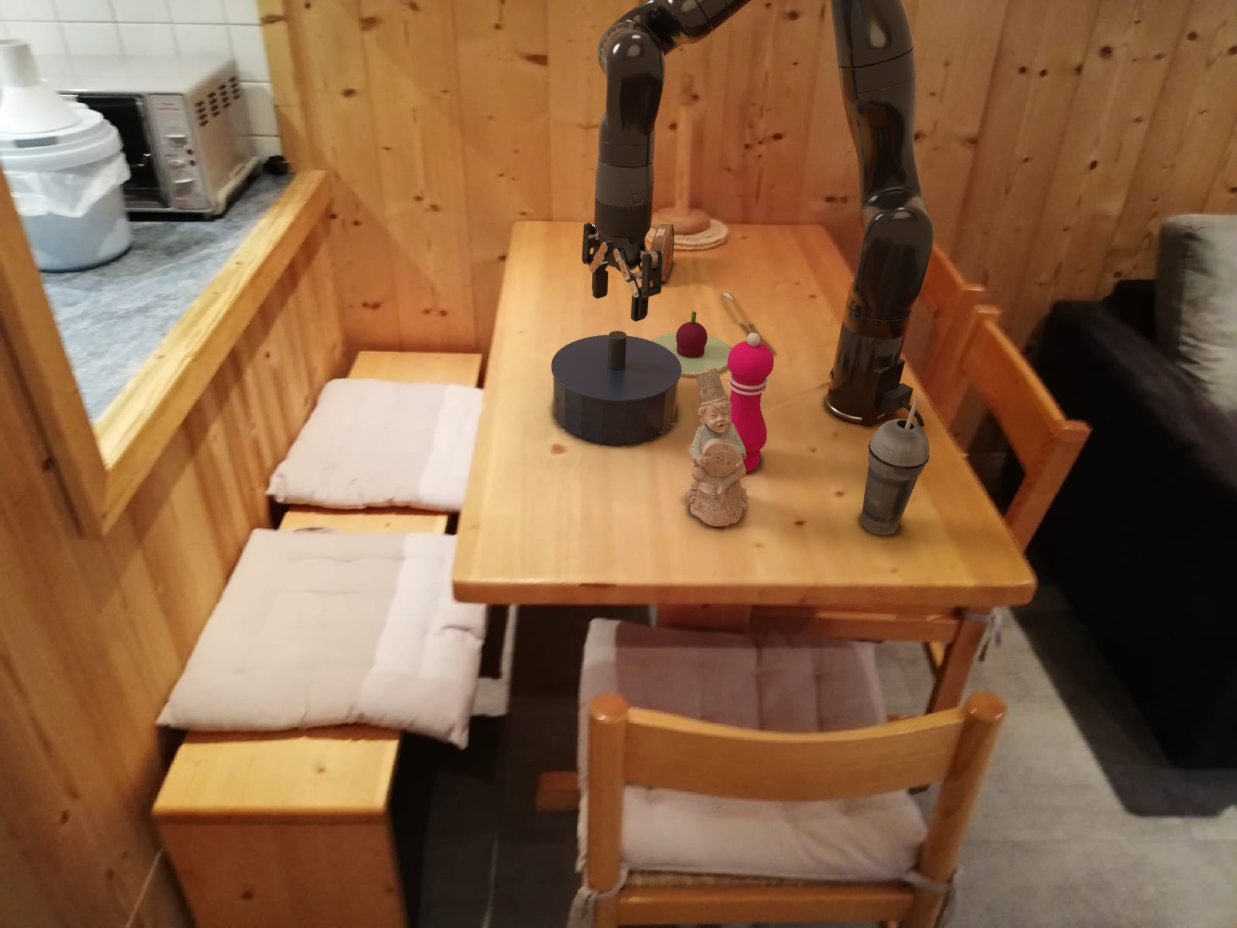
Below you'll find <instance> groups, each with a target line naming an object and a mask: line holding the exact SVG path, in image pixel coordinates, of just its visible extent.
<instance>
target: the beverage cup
mask: <svg viewBox="0 0 1237 928" xmlns="http://www.w3.org/2000/svg"><path fill="white" fill-rule="evenodd" d="M919 401H920V396H918V395H916V396H915V397H914V399H913V403H912V405H911V406H912V409H911V411H910V412H909V415H908V418H907V419H906V418H895V419H891V420H888V421H886V422H884V423H883V424H882V425H880V426H879V427H878V428H877V429H876V430H875V432H874V434H873V435H872V437H871V440H870V441H869V443H868V444H867V445H868V446H867V448H868V453H867V454H868V457H867V458H868V466H867V474H866V482H865V487H864V494H863V502H862V509H861V510H862V511H861V512H862V514H861V525H862V526H863V528H864V529H866V530H867V531H868V532H870V533H872V534H875V535H878V536H890V535H892V534H894V533H895V532H897V528H898V526H899V524H900V523H901V520H902V518H903V515H904V514H905V510H906V508H907V505H908V503H909V500H910V498H911V496H912V494H913V491H914V488H915V486H916V483H917V481H918V479H919V476H920V475H921V474H922V472H923V470H924V469H925V466H926V465H927V463H928V462H929V460H930V442H929V438H928V435H927V433H926V431H925V430H924V429H923V427H920V426H919V424H918V423H916V422H915V421H913V418H914V417H915V416H914V413H915V410H917V407H918V405H919Z"/></svg>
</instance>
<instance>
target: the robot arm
mask: <svg viewBox="0 0 1237 928" xmlns="http://www.w3.org/2000/svg"><path fill="white" fill-rule="evenodd" d="M751 1H752V0H645V1H643V2H641V3H640V4H638V5H637V6H635V7H633V8H632V9H630V10H628V11H627V12H625V13H623V15H621V16H620V17H618V18H617V19H616V20H615V21H613V22H612V23H611V24H610V25H609V26H608V27H607V28H606V29H605V31H604V32H603V34H602V35H601V37H600V39H599V41H598V44H597V50H596V57H597V63H598V66H599V68H600V69H601V71H602V72H603V74H604V75H605V77H606V94H605V95H606V96H605V111H604V112H603V113H602V115H601V116H600V120H599V127H598V147H597V149H598V150H597V163H596V169H595V170H596V171H595V177H594V179H595V182H594V186H595V187H594V215H593V217H594V220H593V221H590V222H587V223H584V224H583V234H582V246H581V247H582V249H581V261H582V263H583V265H588V267H589V271H590V272H591V276H592V277H591V291H592V297H593V298H595V299H596V300H598V299H601V298H605V297H607V296H608V294H609V292H608V291H609V271H608V269H609V267H611V268H615V269H616V270H617V271H618V272H619V273H621V274H622V278H623V280H624V281H625V282H626V283H628V284H629V288H630V290H631V294H632V295H631V303H630V304H631V305H630V306H631V308H630V320H631V321H633V322H636V323H637V322H639V321H643V320H644V319H646V317H647V316H648V315H649V314H648V313H649V299H650V298H651V297H653V296H656V295H659V294H661V293H662V281H661V278H662V253H661V251H660V250H657V251H654V252H652V251H650V249H647V245H646V238H647V235H648V233H649V232H650V230H651V229H652V218H653V202H654V201H653V200H654V185H655V172H654V171H655V170H654V157H655V142H656V139H655V138H656V122H657V118H658V114H659V110H660V106H661V101H662V97H663V92H664V86H665V80H666V79H665V77H666V59H665V58H666V56H667V55H669V54H670V53H672V52H673V51H674V50H676V49H677V48H679V47H681V46H683V45H694V44H697V43H699V42H701V41H702V40H703V39H705V38H707V37H708V36H710V34H711V33H713V32H715V31H716V30H717V29H718V28H719V27H720V26H722V25H723V24H724V23H726V22H727V21H728V20H729V19H731V18H732V17H733V16H734V15H736V14H737V13H738V12H739V11H740V10H741V9H743V8H744V7H745V6H747V5H748V4H749V3H750V2H751ZM829 2H830V11H831V21H832V28H833V36H834V43H835V54H836V64H837V71H838V79H839V86H840V92H841V98H842V102H843V109H844V112H845V118H846V121H847V125H848V129H849V132H850V135H851V139H852V142H853V145H854V148H855V153H856V157H857V163H858V175H859V210H860V211H859V230H860V235H861V244H860V249H859V255H858V259H857V264H856V269H855V273H854V278H853V281H852V282H851V283H850V285H849V287H848V291H847V297H846V302H845V306H844V312H843V316H842V322H841V326H840V331H839V337H838V341H837V346H836V349H835V350H836V351H835V355H834V360H833V365H832V367H831V370H830V372H829V376H828V379H829V386H828V391H827V394H826V397H825V406H826V409H827V410H828V411H829V412H830V413H831V414H833V415H834V416H835V417H837V418H839V419H842V420H844V421H847V422H851V423H856V424H862V425H863V426H865V427H869V426H871V425H873V424H875V423H877V422H879V421H881V420H883V419H885V418H887V417H889V416H890V415H892V414H893V413H895V412H897V411H900V410H901V409H903V408H904V409H905V410H907V411H908V412H909V413H910V411H911V409H912V406H913V405H911V404H910V403H911V400H912V396H913V392H914V387H911V386H910V385H908V384H906V383H904V382H901V380H902V376H903V372H904V368H905V364H906V359H905V358H902V357H901V356H902V352H903V348H904V343H905V340H906V336H907V332H908V328H909V324H910V320H911V318H912V317H911V316H912V313H913V309H914V305H915V302H916V301H917V299H918V298H919V296H920V293H921V291H922V289H923V284H924V280H925V278H926V275H927V274H926V273H927V270H928V267H929V263H930V259H931V256H932V251H933V247H934V242H935V226H934V223H933V220H932V216H931V214H930V211H929V209H928V205H927V204H926V201H925V198H924V195H923V190H922V187H921V181H920V177H919V171H918V167H917V166H918V165H917V160H916V154H915V130H916V129H915V128H916V120H917V107H918V72H917V63H916V52H915V41H914V35H913V30H912V26H911V22H910V19H909V15H908V13H907V10H906V6H905V3H904V1H903V0H829ZM591 249H592V253H591ZM637 267H638V271H636V272H632V271H633V270H636V269H637ZM637 280H639V281H640V284H641V286H640V285H639V284H638V281H637ZM651 282H652V285H651ZM913 417H914V418H915V419H916V422H917V424H918V425H919V426H920V427H921V428H923V427H925V422H924V419H923V417H922V415H921V413H920V412H919V411H918V410H917V409H916V410H915V413H914V416H913Z"/></svg>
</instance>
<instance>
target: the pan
mask: <svg viewBox="0 0 1237 928" xmlns="http://www.w3.org/2000/svg"><path fill="white" fill-rule="evenodd" d="M552 381H553V382H552V389H553V390H552V394H553V397H552V401H553V402H552V404H553V405H552V406H553V415H554V418H555V420H556V422H557V424H559V426H560V427H561V428H562V429H564V431H565V432H567V433H568V434H570V435H571V436H573V437H576V438H577V439H580V440H581V441H586V442H589V443H593V444H597V445H603V446H613V447H614V446H618V447H619V446H621V447H622V446H631V445H638V444H642V443H646V442H649V441H652V440H654V439H656V438H659V437H660V436H662V435H663V433H662V432H664V430H666V429H667V428H668V427H669V426H670V425H671V424H672V423H673V422H674V420H675V415H676V412H677V404H678V392H679V381H680V380H679V381H678V383H677V384H676V385H675V386H674V387H673V388H672V389H671V390H669V391H667V392H666V393H664V394H662V395H660V396H657V397H654V398H651V399H647V400H643V401H637V402H621V403H617V402H604V401H598V400H593V399H589V398H585V397H582V396H579V395H577V394H575V393H573V392H570V391H569V390H567V389H565V388H564V387H563V386H561V385H560V384H559V383H558V382H557V381H556V379H555V378H554V376H553V375H552Z"/></svg>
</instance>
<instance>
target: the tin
mask: <svg viewBox="0 0 1237 928" xmlns="http://www.w3.org/2000/svg"><path fill="white" fill-rule="evenodd" d="M674 226H675V225H674V224H673V223H667V224H666V223H659V225H658V226H657V228H656V231H655V233H654V235H653V238H652V240H651V244H650V249H649V250H650V251H652V252H654V251H657V250H660V251H661V253H662V278H661V282H663V283H665V282H666V280H667V278H668V276H669V274H670V270H671V267H672V265H673V260H674V253H675V252H674V251H675V227H674Z"/></svg>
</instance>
